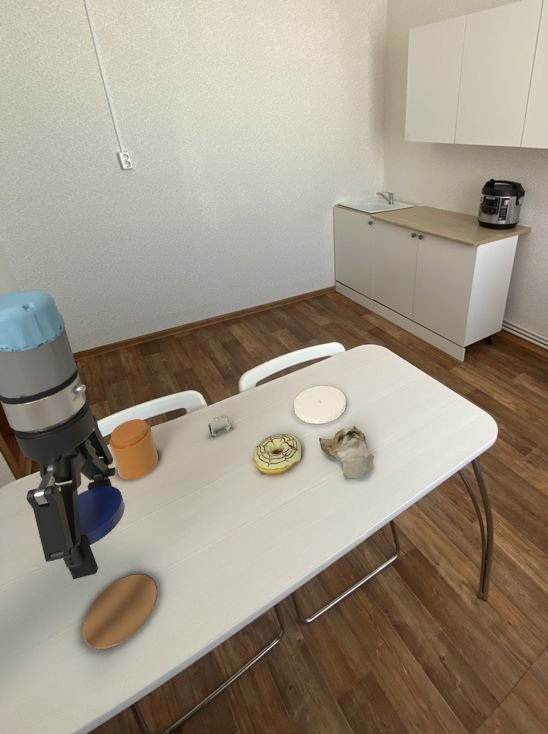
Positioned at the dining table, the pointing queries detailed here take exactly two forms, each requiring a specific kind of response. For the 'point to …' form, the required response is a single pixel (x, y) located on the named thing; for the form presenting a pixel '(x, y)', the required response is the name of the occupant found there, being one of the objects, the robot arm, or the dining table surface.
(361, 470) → the ceramic sculpture
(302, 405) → the plastic lid
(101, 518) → the jar lid
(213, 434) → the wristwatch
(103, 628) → the wooden coaster
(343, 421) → the dining table surface
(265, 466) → the decorated donut
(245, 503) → the dining table surface
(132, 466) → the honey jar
